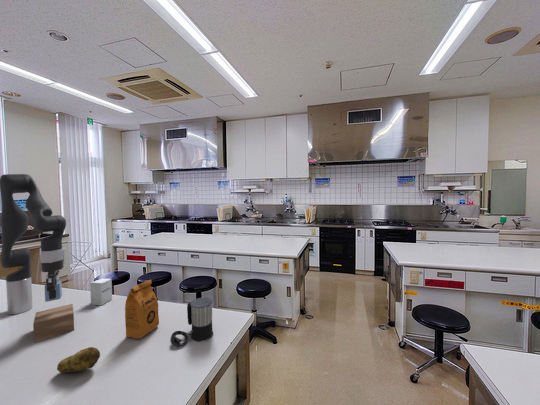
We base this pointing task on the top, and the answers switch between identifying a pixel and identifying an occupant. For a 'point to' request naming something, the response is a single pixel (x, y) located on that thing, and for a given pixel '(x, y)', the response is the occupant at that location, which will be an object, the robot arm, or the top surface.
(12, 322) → the top surface
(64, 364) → the potato
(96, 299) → the supplement box
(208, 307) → the milk frother
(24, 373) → the top surface
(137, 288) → the coffee package
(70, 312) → the walnut box
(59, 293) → the slate block
